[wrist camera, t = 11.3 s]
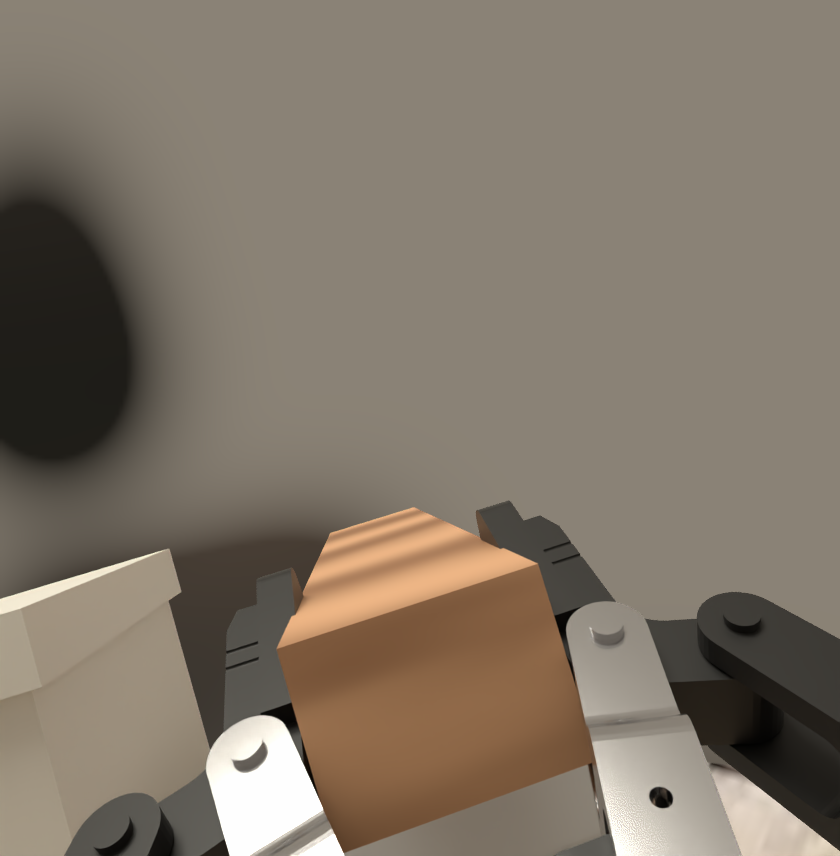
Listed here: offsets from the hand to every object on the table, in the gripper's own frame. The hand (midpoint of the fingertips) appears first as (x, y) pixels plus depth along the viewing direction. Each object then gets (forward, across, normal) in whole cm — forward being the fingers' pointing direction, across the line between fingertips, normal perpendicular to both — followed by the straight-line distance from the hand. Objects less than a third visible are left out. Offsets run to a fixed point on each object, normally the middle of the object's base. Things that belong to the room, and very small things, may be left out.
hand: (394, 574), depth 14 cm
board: (+4, 0, +6) cm, 7 cm away
